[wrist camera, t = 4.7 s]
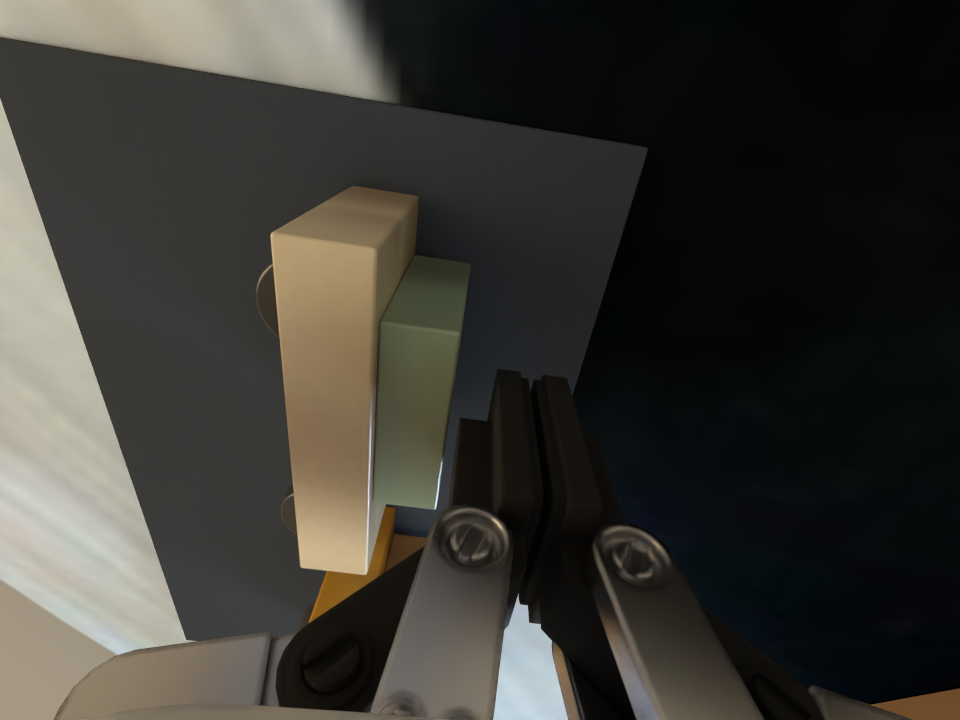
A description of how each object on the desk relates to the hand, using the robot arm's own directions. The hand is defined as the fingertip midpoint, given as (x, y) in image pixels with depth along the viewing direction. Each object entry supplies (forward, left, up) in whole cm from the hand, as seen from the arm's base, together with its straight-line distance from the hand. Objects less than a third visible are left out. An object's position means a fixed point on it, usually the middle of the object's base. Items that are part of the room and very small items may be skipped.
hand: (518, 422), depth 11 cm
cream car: (0, -4, -4) cm, 5 cm away
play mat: (+7, -6, -4) cm, 10 cm away
